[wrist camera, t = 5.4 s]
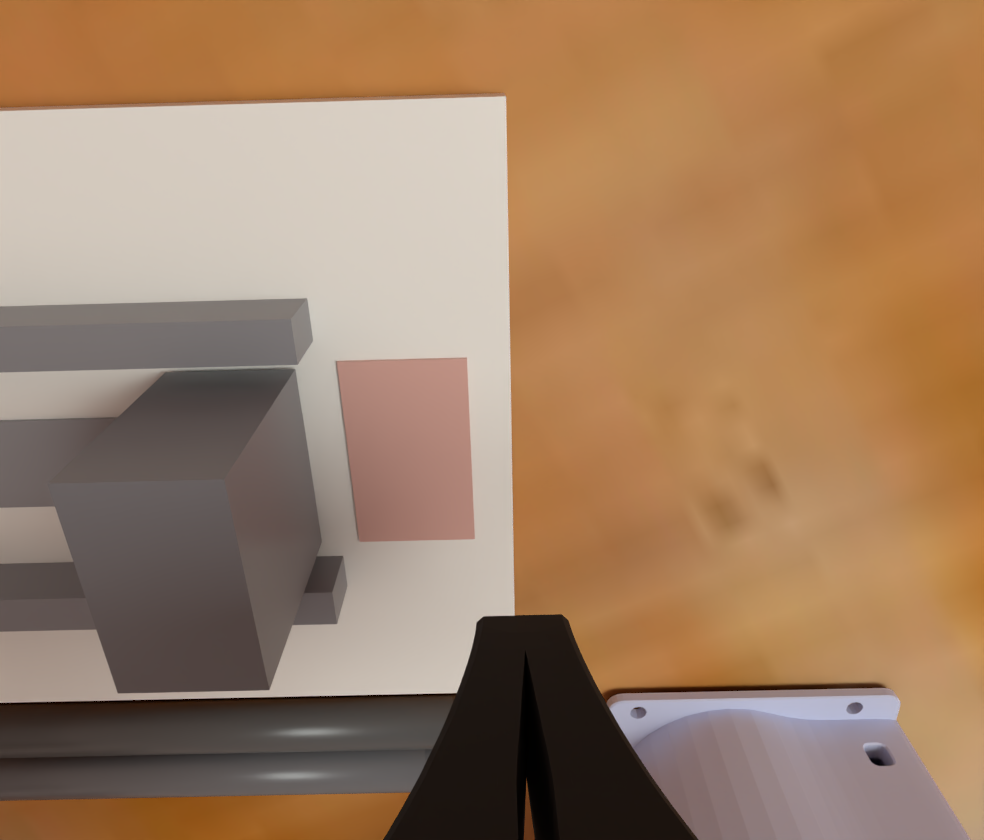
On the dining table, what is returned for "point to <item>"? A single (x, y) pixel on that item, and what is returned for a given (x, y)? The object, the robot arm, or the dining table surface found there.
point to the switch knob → (195, 530)
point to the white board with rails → (324, 402)
